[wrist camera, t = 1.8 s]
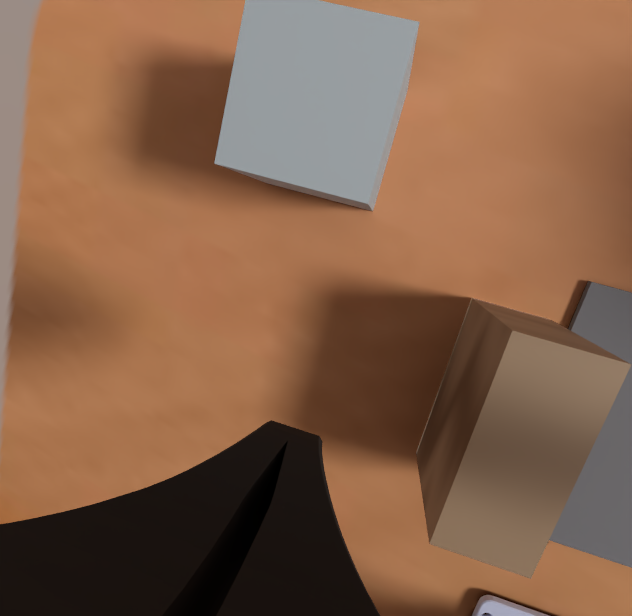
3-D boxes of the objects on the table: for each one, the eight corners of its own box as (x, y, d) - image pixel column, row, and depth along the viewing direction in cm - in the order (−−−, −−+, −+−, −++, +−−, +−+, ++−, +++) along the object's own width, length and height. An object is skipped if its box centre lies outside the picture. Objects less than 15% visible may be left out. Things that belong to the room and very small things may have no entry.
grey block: (373, 211, 18) (368, 204, 12) (266, 183, 19) (214, 163, 13) (407, 91, 17) (419, 21, 11) (293, 65, 18) (248, -15, 12)
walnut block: (487, 474, 20) (530, 578, 14) (416, 451, 20) (429, 543, 14) (550, 319, 18) (631, 364, 12) (471, 297, 18) (512, 330, 12)
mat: (637, 565, 19) (641, 570, 19) (488, 516, 20) (490, 520, 20) (765, 328, 17) (772, 330, 16) (588, 281, 17) (591, 281, 17)
